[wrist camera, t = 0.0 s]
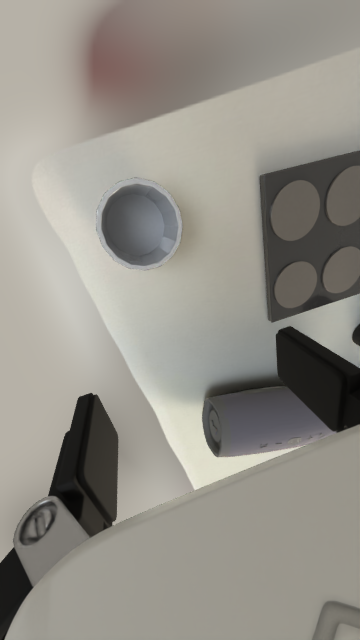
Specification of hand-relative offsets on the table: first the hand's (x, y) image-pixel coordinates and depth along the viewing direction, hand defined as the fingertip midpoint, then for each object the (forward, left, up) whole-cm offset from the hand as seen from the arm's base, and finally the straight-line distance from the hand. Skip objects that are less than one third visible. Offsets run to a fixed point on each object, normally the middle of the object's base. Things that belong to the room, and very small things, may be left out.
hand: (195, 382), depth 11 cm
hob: (+1, +24, -20) cm, 32 cm away
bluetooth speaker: (+26, +13, -20) cm, 36 cm away
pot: (-7, 0, -20) cm, 22 cm away
